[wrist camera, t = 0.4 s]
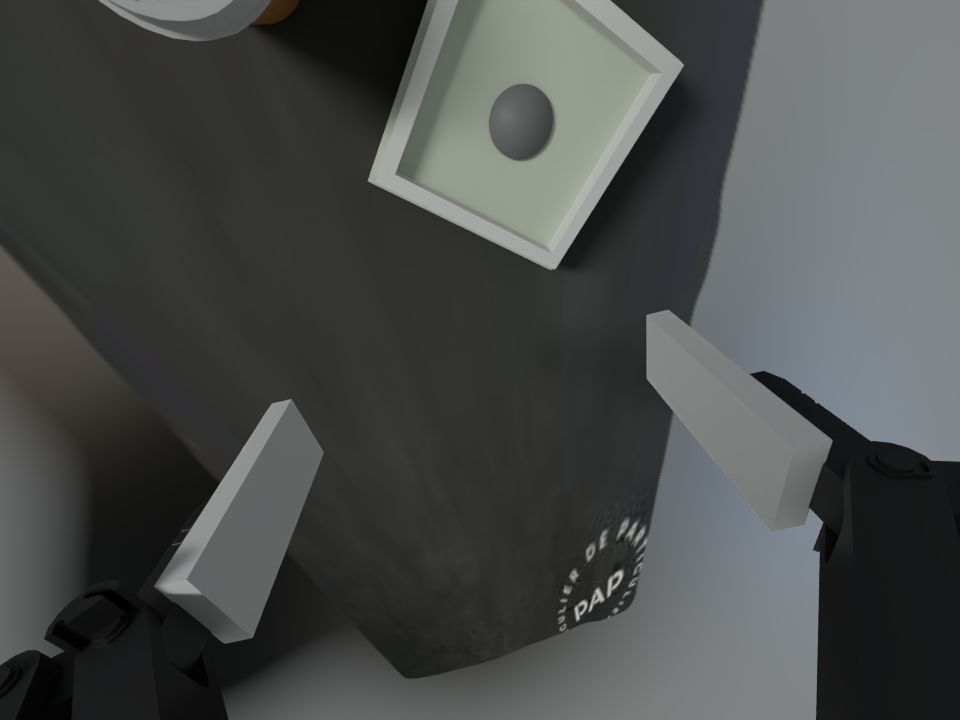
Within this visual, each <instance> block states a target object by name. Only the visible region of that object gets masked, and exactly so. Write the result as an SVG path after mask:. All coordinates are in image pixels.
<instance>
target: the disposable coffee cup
mask: <svg viewBox="0 0 960 720" xmlns="http://www.w3.org/2000/svg"><path fill="white" fill-rule="evenodd" d="M99 1H100V2H102V3H103V4H105V5H106V6H108V7H109V8H110V9H112V10H113V11H115V12H116V13H117V14H119V15H120V16H122V17H124V18H126V19H128V20H130V21H132V22H134V23H136V24H138V25H139V26H141V27H143V28H145V29H148V30H151V31H154V32H156V33H159V34H162V35H165V36H168V37H171V38H176V39H184V40H192V41H207V40H216V39H219V38H223V37H226V36H230V35H233V34H236V33H238V32H240V31H241V30H242V29H244V28H245V27H247V26H250V25H260V24H274V23H277V22H279V21H282V20H284V19H285V18H286V17H287V16H289V15H290V14H291V13H292V12H293V11H294V9H295V8H296V7H297V5H298V3H299V0H99Z"/></svg>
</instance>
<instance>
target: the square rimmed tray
mask: <svg viewBox="0 0 960 720" xmlns="http://www.w3.org/2000/svg"><path fill="white" fill-rule="evenodd" d="M683 66H684V64H682V63H681V61H680V60H679V59H677V58H676V57H675V56H674V55H673V54H672V53H670V52H669V51H668V50H667V49H666V48H665V47H664V46H662V45H661V44H660V43H659V42H658V41H657V40H655V39H654V38H653V37H652V36H651V35H650V34H649V33H647V32H646V31H645V30H644V29H643V28H642V27H641V26H639V25H638V24H637V23H636V22H635V21H634V20H632V19H631V18H630V17H629V16H628V15H627V14H626V13H624V12H623V11H622V10H621V9H620V8H619V7H617V6H616V5H615V4H614V3H613V2H612V1H611V0H428V2H427V5H426V8H425V11H424V14H423V17H422V20H421V23H420V26H419V29H418V32H417V35H416V38H415V41H414V44H413V47H412V50H411V53H410V56H409V59H408V62H407V65H406V68H405V71H404V74H403V77H402V80H401V83H400V86H399V89H398V92H397V95H396V98H395V101H394V104H393V107H392V110H391V113H390V116H389V119H388V122H387V125H386V128H385V131H384V134H383V137H382V140H381V143H380V146H379V149H378V152H377V155H376V158H375V161H374V164H373V167H372V170H371V173H370V176H369V179H368V182H370V183H372V184H375V185H377V186H379V187H381V188H383V189H385V190H387V191H389V192H391V193H393V194H395V195H397V196H399V197H401V198H403V199H405V200H407V201H410V202H412V203H414V204H416V205H418V206H420V207H422V208H424V209H426V210H428V211H430V212H432V213H434V214H436V215H438V216H440V217H443V218H445V219H447V220H449V221H451V222H453V223H455V224H457V225H459V226H461V227H463V228H465V229H467V230H469V231H471V232H473V233H476V234H478V235H480V236H482V237H484V238H486V239H488V240H490V241H492V242H494V243H496V244H498V245H500V246H502V247H504V248H506V249H509V250H511V251H513V252H515V253H517V254H519V255H521V256H523V257H525V258H527V259H529V260H531V261H533V262H535V263H537V264H539V265H542V266H544V267H546V268H548V269H550V270H552V268H553V269H556V267H557V266H558V264H559V263H560V261H561V259H562V258H563V256H564V255H565V253H566V252H567V250H568V248H569V247H570V245H571V244H572V242H573V240H574V239H575V237H576V236H577V234H578V232H579V231H580V229H581V228H582V226H583V225H584V223H585V221H586V220H587V218H588V217H589V215H590V213H591V212H592V210H593V209H594V207H595V206H596V204H597V202H598V201H599V199H600V198H601V196H602V194H603V193H604V191H605V190H606V188H607V186H608V185H609V183H610V182H611V180H612V179H613V177H614V175H615V174H616V172H617V171H618V169H619V167H620V166H621V164H622V163H623V161H624V160H625V158H626V156H627V155H628V153H629V152H630V150H631V148H632V147H633V145H634V144H635V142H636V140H637V139H638V137H639V136H640V134H641V133H642V131H643V129H644V128H645V126H646V125H647V123H648V121H649V120H650V118H651V117H652V115H653V114H654V112H655V110H656V109H657V107H658V106H659V104H660V102H661V101H662V99H663V98H664V96H665V94H666V93H667V91H668V90H669V88H670V87H671V85H672V83H673V82H674V80H675V79H676V77H677V75H678V74H679V72H680V71H681V69H682V68H683Z"/></svg>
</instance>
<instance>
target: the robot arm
mask: <svg viewBox="0 0 960 720" xmlns="http://www.w3.org/2000/svg"><path fill="white" fill-rule="evenodd" d="M647 380H648V381H649V382H650V383H651V384H652V386H653V387H654V388H655V389H656V391H657V392H658V393H659V394H660V395H661V397H662V398H663V399H664V400H665V402H666V403H667V404H668V405H669V406H670V408H671V409H672V410H673V411H674V413H675V414H676V415H677V416H678V417H679V419H680V420H681V421H682V422H683V424H684V425H685V426H686V427H687V428H688V430H689V431H690V432H691V433H692V434H693V436H694V437H695V438H696V439H697V441H698V442H699V443H700V444H701V446H702V447H703V448H704V449H705V450H706V452H707V453H708V454H709V455H710V457H711V458H712V459H713V460H714V461H715V463H716V464H717V465H718V466H719V468H720V469H721V470H722V471H723V472H724V474H725V475H726V476H727V477H728V478H729V480H730V481H731V482H732V483H733V485H734V486H735V487H736V488H737V490H738V491H739V492H740V493H741V494H742V496H743V497H744V498H745V499H746V501H747V502H748V503H749V504H750V505H751V507H752V508H753V509H754V510H755V512H756V513H757V514H758V515H759V516H760V518H761V519H762V520H763V521H764V523H765V524H766V525H767V526H768V527H769V529H770V530H771V531H775V530H780V529H785V528H790V527H795V526H800V525H804V524H805V521H806V518H807V515H808V512H809V509H811V510H812V511H814V513H815V514H816V515H817V516H818V517H819V518H820V519H821V520H822V521H823V525H822V528H821V530H820V533H819V536H818V538H817V541H816V543H815V546H814V549H813V550H815V551H817V552H819V551H820V570H819V572H820V573H819V616H818V617H819V618H818V662H817V706H816V707H817V708H816V720H960V462H953V461H931V460H929V459H928V458H927V457H926V456H924V455H922V454H920V453H918V452H916V451H914V450H912V449H910V448H907V447H903V446H900V445H896V444H893V443H887V442H878V441H870V440H868V439H867V438H865V437H864V436H863V435H861V434H860V433H858V432H857V431H856V430H854V429H853V428H852V427H850V426H849V425H847V424H846V423H845V422H843V421H842V420H841V419H839V418H838V417H836V416H835V415H834V414H832V413H831V412H829V411H828V410H827V409H825V408H824V407H822V406H821V405H820V404H819V403H817V404H816V403H815V401H814V400H813V399H812V398H810V397H809V396H807V395H806V394H805V393H804V394H802V393H801V390H799V389H798V388H796V387H795V386H794V385H792V384H791V383H790V382H788V381H787V380H785V379H783V378H781V377H778V376H775V375H773V374H770V373H768V372H765V371H762V372H757V373H753V374H749V373H747V372H746V371H745V370H743V369H742V368H741V367H740V366H738V365H737V364H736V363H735V362H733V361H732V360H731V359H729V358H728V357H727V356H726V355H725V354H723V353H722V352H721V351H720V350H718V349H717V348H716V347H714V346H713V345H712V344H711V343H710V342H708V341H707V340H706V339H704V338H703V337H702V336H701V335H699V334H698V333H697V332H695V331H694V330H693V329H692V328H691V327H689V326H688V325H687V324H686V323H684V322H683V321H682V320H681V319H679V318H678V317H677V316H675V315H674V314H673V313H672V312H670V311H669V310H666V311H661V312H657V313H653V314H649V315H647ZM323 453H324V452H323V450H322V449H321V447H320V445H319V444H318V442H317V440H316V439H315V437H314V436H313V434H312V432H311V431H310V429H309V427H308V426H307V424H306V422H305V421H304V419H303V417H302V416H301V414H300V412H299V411H298V409H297V408H296V406H295V404H294V403H293V401H292V399H290V400H286V401H282V402H277V403H273V404H271V406H270V407H269V409H268V410H267V412H266V413H265V415H264V417H263V418H262V420H261V421H260V423H259V424H258V426H257V427H256V429H255V431H254V432H253V434H252V435H251V437H250V438H249V440H248V441H247V443H246V444H245V446H244V448H243V449H242V451H241V452H240V454H239V455H238V457H237V458H236V460H235V462H234V463H233V465H232V466H231V468H230V469H229V471H228V472H227V474H226V475H225V477H224V479H223V480H222V482H221V483H220V485H219V486H218V488H217V490H216V491H215V493H214V494H213V496H212V497H209V498H207V499H206V500H205V501H204V502H203V503H202V504H201V505H200V506H199V507H198V508H197V509H196V510H195V511H194V512H193V513H192V514H191V516H190V517H189V519H188V520H187V522H186V523H185V525H184V526H183V528H182V529H181V533H179V534H178V535H177V537H176V538H175V540H174V541H173V543H172V547H170V548H169V549H168V550H167V551H166V553H165V555H164V556H163V557H162V559H161V560H160V562H159V563H158V565H157V566H156V568H155V569H154V571H153V573H152V574H151V575H150V577H149V578H148V580H147V581H146V583H145V584H144V586H143V587H142V589H141V590H140V592H139V593H138V595H137V596H136V595H135V594H134V593H132V592H131V591H130V590H128V589H127V588H126V587H125V586H123V585H122V584H121V583H119V582H118V581H113V580H108V581H105V582H102V583H98V584H97V585H95V586H93V587H91V588H89V589H88V590H86V591H84V592H83V593H82V594H80V595H79V596H78V597H76V598H75V599H74V600H72V601H71V602H70V603H69V604H68V605H67V606H66V607H65V608H64V609H63V610H62V611H61V612H60V613H59V614H58V615H57V616H56V618H55V619H54V621H53V622H52V623H51V625H50V626H49V627H48V630H47V632H46V635H45V638H44V639H45V640H47V641H49V642H51V643H52V644H54V645H56V646H57V647H59V648H61V649H62V650H64V652H62V653H60V654H58V655H56V656H54V657H53V658H50V657H48V656H46V655H44V654H42V653H40V652H39V651H37V650H28V651H25V652H23V653H20V654H18V655H16V656H14V657H12V658H11V659H9V660H8V661H6V662H5V663H3V664H2V665H0V720H228V716H227V712H226V708H225V705H224V701H223V697H222V694H221V690H220V686H219V682H218V678H217V675H216V671H215V667H214V664H213V660H212V656H211V654H210V653H209V651H208V650H207V649H206V648H205V647H204V646H205V644H206V642H207V640H208V637H209V635H210V633H212V634H213V635H214V636H216V637H217V638H218V639H219V640H220V641H222V642H223V643H230V642H234V641H239V640H244V639H249V638H252V637H253V635H254V633H255V630H256V627H257V625H258V622H259V619H260V617H261V614H262V612H263V609H264V607H265V604H266V601H267V598H268V596H269V594H270V591H271V588H272V586H273V583H274V580H275V578H276V575H277V572H278V570H279V567H280V565H281V562H282V559H283V557H284V554H285V552H286V549H287V547H288V544H289V541H290V539H291V536H292V534H293V531H294V528H295V526H296V523H297V521H298V518H299V515H300V513H301V510H302V508H303V505H304V502H305V500H306V497H307V495H308V492H309V489H310V487H311V484H312V482H313V479H314V476H315V474H316V471H317V469H318V466H319V463H320V461H321V458H322V456H323Z"/></svg>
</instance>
